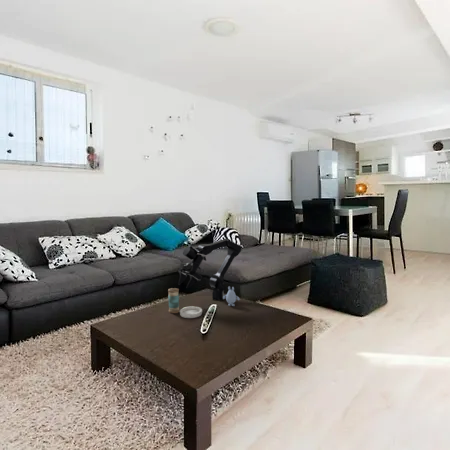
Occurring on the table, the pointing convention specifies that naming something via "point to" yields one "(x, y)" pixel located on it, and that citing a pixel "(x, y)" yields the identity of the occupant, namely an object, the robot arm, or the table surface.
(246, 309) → the table surface
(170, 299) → the disc
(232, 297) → the toy figure
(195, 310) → the ceramic dish
